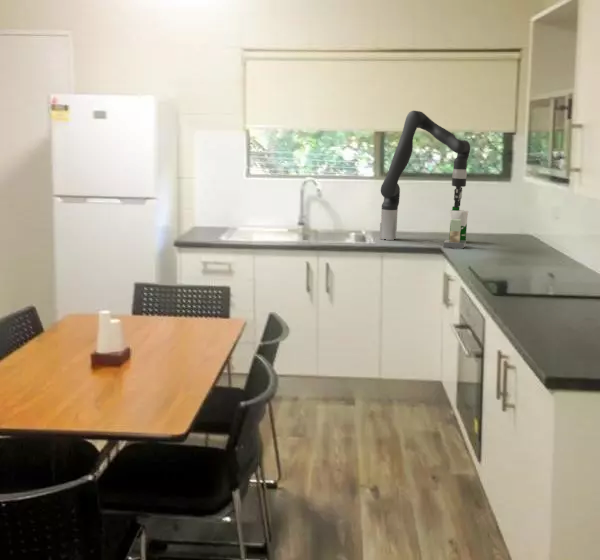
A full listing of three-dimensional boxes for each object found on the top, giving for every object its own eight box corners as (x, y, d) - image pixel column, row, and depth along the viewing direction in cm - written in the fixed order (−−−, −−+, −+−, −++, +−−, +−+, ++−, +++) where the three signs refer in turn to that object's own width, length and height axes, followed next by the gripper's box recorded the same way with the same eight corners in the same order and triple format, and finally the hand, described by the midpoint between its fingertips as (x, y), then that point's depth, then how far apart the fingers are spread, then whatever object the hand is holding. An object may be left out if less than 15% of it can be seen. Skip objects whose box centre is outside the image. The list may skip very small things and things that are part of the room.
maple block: (449, 241, 462) (450, 230, 461) (450, 240, 466) (451, 229, 465) (458, 242, 460) (459, 231, 459) (459, 241, 465) (460, 230, 464)
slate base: (443, 247, 460) (443, 242, 460) (445, 244, 471) (446, 239, 470) (463, 248, 457) (464, 243, 457) (465, 246, 468) (465, 240, 467)
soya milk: (453, 240, 489) (455, 205, 485) (468, 241, 484) (470, 207, 480) (446, 241, 482) (448, 206, 478) (461, 243, 477) (463, 208, 473)
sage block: (450, 230, 461) (451, 220, 459) (451, 229, 465) (452, 219, 464) (459, 231, 459) (460, 220, 458) (460, 230, 464) (461, 219, 463)
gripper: (464, 178, 451) (462, 208, 454) (467, 177, 464) (465, 206, 467) (450, 177, 453) (448, 208, 456) (453, 176, 466) (451, 205, 469)
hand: (457, 207), depth 462 cm, fingers open, 8 cm apart
